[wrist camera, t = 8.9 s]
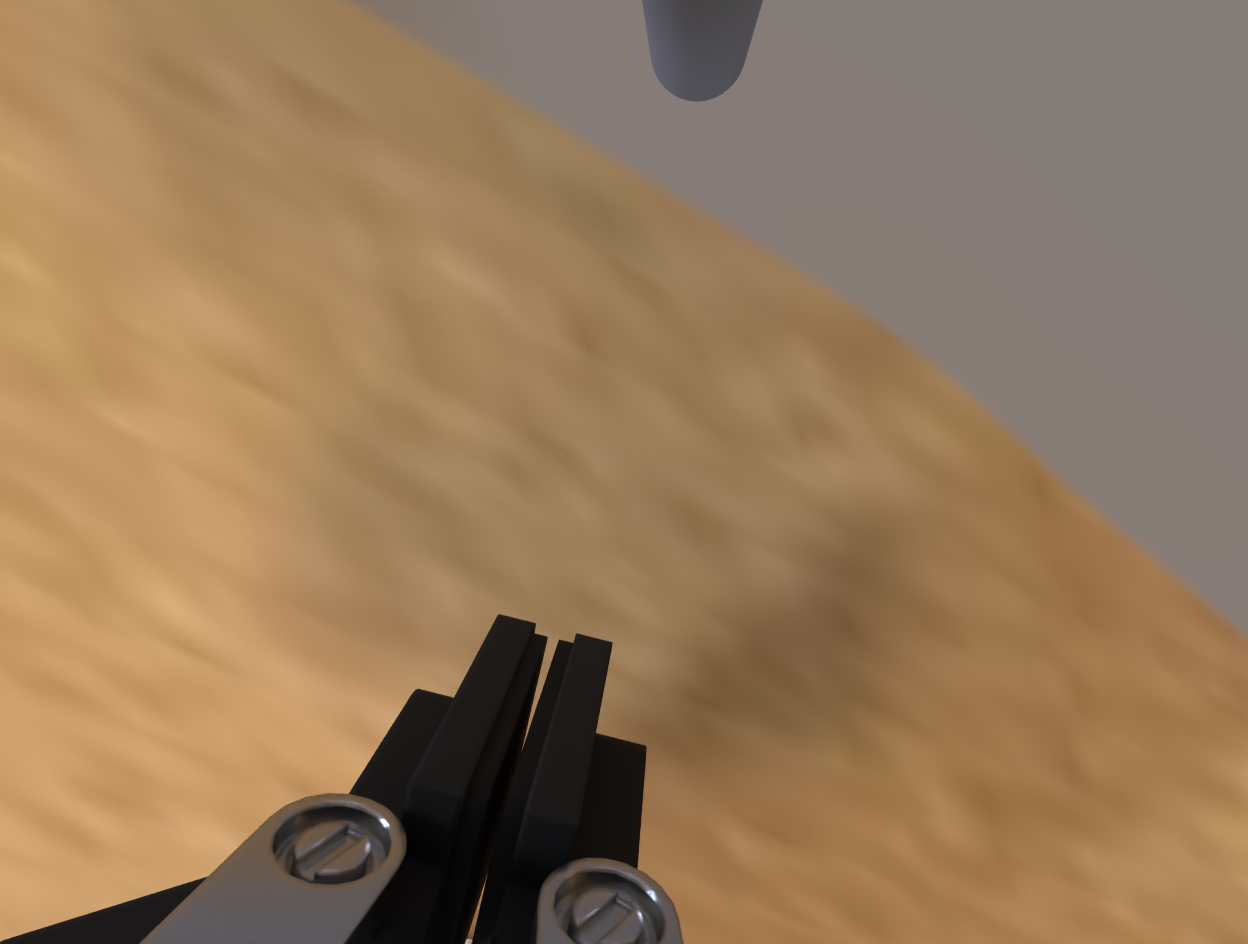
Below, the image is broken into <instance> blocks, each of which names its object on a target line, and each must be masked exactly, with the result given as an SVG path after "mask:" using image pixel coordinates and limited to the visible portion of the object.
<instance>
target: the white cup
mask: <svg viewBox="0 0 1248 944" xmlns="http://www.w3.org/2000/svg"><path fill="white" fill-rule="evenodd" d="M472 940H473V939H466V942H465V944H472Z"/></svg>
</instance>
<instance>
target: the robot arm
mask: <svg viewBox="0 0 1248 944" xmlns="http://www.w3.org/2000/svg"><path fill="white" fill-rule="evenodd" d="M535 627H536V623H533V622H529V621H525V620H521V619H517V618H513V617H508V616H504V615H500V614H498V616H497V618H496V619H495V621H494V623H493V625H492V627H491V629H490V631H489V633H488V634H487V636H486V638H485V640H484V642H483V644H482V646H481V648H480V650H479V651H478V653H477V655H476V657H475V659H474V661H473V663H472V665H471V667H470V668H469V670H468V672H467V674H466V676H465V678H464V680H463V682H462V683H461V685H460V687H459V689H458V691H457V693H456V695H455V697H454V698H453V697H449V696H445V695H441V694H437V693H433V692H429V691H425V690H421V689H416V690H415V691H414V692H413V694H412V695H411V696H410V698H409V699H408V701H407V703H406V704H405V706H404V707H403V709H402V711H401V712H400V714H399V715H398V717H397V718H396V720H395V722H394V723H393V725H392V726H391V728H390V729H389V731H388V733H387V734H386V736H385V737H384V739H383V741H382V742H381V744H380V745H379V747H378V748H377V750H376V752H375V753H374V755H373V756H372V758H371V760H370V761H369V763H368V764H367V766H366V767H365V769H364V771H363V772H362V774H361V775H360V777H359V778H358V780H357V782H356V783H355V785H354V786H353V788H352V790H351V791H350V793H349V794H334V793H327V794H321V795H315V796H309V797H305V798H303V799H300V800H298V801H295V802H293V803H290V804H288V805H286V806H284V807H283V808H281V809H280V810H279V811H277V812H276V813H274V814H273V815H272V816H270V817H269V818H268V819H267V820H266V821H265V822H264V823H263V824H262V825H261V826H260V827H259V828H258V829H257V830H256V831H255V832H254V833H253V834H252V835H251V836H250V837H249V838H248V839H246V840H245V841H244V842H243V843H242V844H241V845H240V846H239V847H238V848H237V849H236V850H235V851H234V852H233V853H232V854H231V855H230V856H229V857H228V858H227V859H226V860H225V861H224V862H223V863H222V864H221V865H220V866H219V867H218V868H217V869H216V870H215V871H213V872H212V873H211V874H210V875H209V876H208V877H205V878H202V879H198V880H195V881H192V882H189V883H186V884H182V885H179V886H176V887H173V888H170V889H166V890H163V891H160V892H157V893H154V894H150V895H147V896H144V897H141V898H137V899H134V900H131V901H128V902H125V903H121V904H118V905H115V906H112V907H109V908H105V909H102V910H99V911H96V912H93V913H89V914H86V915H83V916H80V917H76V918H73V919H70V920H67V921H64V922H60V923H57V924H54V925H51V926H48V927H44V928H41V929H38V930H35V931H32V932H28V933H25V934H22V935H19V936H16V937H12V938H9V939H6V940H3V941H1V942H0V944H465V942H466V939H467V936H468V933H469V930H470V927H471V924H472V921H473V917H474V914H475V911H476V908H477V905H478V902H479V899H480V896H481V893H482V890H483V886H484V883H485V880H486V884H485V888H484V892H483V897H482V901H481V905H480V910H479V914H478V919H477V923H476V927H475V932H474V936H473V940H472V944H683V939H682V934H681V928H680V922H679V918H678V915H677V913H676V910H675V907H674V904H673V902H672V901H671V899H670V898H669V896H668V895H667V894H666V892H665V891H664V890H663V888H662V887H661V886H660V885H659V884H658V883H656V882H655V881H654V880H653V879H652V878H650V877H649V876H648V875H647V874H645V873H644V872H642V871H640V870H638V869H637V867H638V854H639V841H640V828H641V815H642V802H643V789H644V777H645V764H646V746H645V745H641V744H637V743H633V742H629V741H625V740H621V739H617V738H613V737H609V736H605V735H601V734H597V733H596V729H597V724H598V718H599V713H600V708H601V703H602V697H603V692H604V687H605V681H606V676H607V671H608V665H609V660H610V655H611V649H612V644H613V642H609V641H605V640H601V639H597V638H593V637H589V636H585V635H581V634H577V633H576V636H575V639H574V643H571V642H567V641H563V640H559V641H558V644H557V647H556V650H555V653H554V656H553V659H552V662H551V665H550V668H549V671H548V674H547V677H546V680H545V683H544V686H543V689H542V692H541V695H540V698H539V701H538V704H537V707H536V710H535V713H534V716H533V719H532V722H531V725H530V728H529V731H528V734H527V737H526V740H525V743H524V739H525V734H526V730H527V726H528V721H529V717H530V713H531V709H532V704H533V700H534V696H535V691H536V687H537V683H538V678H539V674H540V670H541V665H542V661H543V657H544V652H545V648H546V643H547V636H543V635H539V634H535ZM523 743H524V746H523ZM522 747H523V749H522ZM487 874H488V875H487ZM486 877H487V879H486Z"/></svg>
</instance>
